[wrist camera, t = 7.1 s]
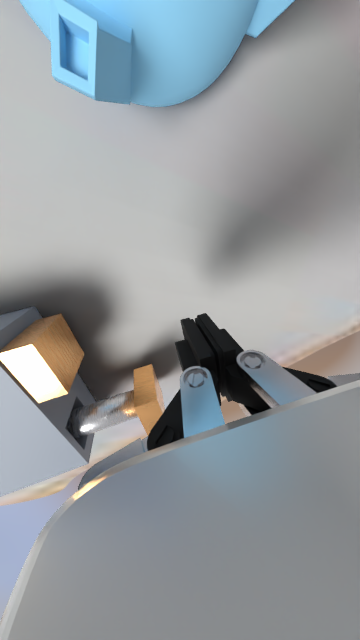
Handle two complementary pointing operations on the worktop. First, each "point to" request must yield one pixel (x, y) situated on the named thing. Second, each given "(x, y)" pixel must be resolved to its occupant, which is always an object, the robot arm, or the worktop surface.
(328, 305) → the worktop surface
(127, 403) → the knob
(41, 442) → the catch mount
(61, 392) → the knob
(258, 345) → the worktop surface
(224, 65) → the teapot
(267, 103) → the worktop surface
